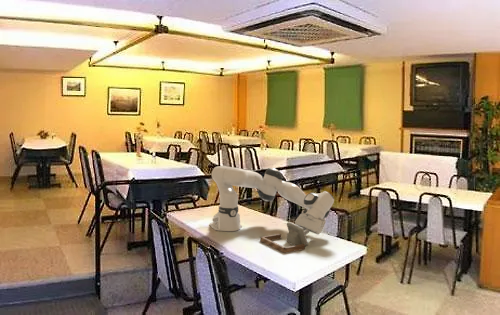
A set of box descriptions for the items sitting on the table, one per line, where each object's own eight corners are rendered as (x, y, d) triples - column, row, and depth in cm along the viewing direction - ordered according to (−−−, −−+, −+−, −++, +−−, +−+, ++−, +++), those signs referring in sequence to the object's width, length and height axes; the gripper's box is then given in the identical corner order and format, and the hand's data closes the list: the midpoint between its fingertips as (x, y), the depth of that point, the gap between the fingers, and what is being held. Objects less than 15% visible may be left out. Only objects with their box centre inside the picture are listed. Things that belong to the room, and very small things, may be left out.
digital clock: (308, 246, 248) (309, 227, 247) (293, 247, 246) (293, 228, 245) (298, 238, 264) (299, 220, 263) (284, 239, 262) (284, 221, 261)
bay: (260, 241, 257) (260, 236, 257) (279, 238, 264) (279, 233, 264) (284, 253, 237) (284, 248, 236) (304, 249, 244) (304, 244, 243)
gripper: (330, 223, 251) (316, 243, 247) (307, 215, 268) (294, 234, 265) (323, 217, 248) (309, 237, 244) (301, 209, 265) (287, 228, 262)
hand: (301, 235), depth 255 cm, fingers closed
